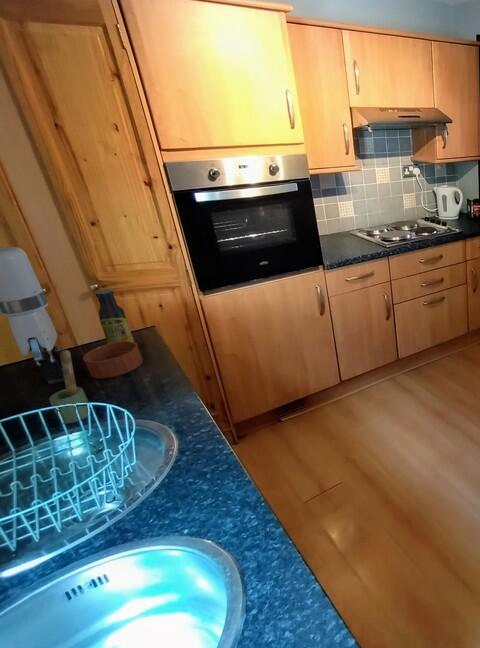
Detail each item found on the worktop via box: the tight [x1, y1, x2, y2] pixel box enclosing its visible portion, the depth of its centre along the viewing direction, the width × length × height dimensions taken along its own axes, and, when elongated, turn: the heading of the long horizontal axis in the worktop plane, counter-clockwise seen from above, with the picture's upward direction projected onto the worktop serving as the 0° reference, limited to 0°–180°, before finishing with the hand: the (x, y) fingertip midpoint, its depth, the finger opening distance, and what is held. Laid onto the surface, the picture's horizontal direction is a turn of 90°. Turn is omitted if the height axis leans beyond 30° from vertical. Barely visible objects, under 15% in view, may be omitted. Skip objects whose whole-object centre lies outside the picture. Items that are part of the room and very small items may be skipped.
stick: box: [59, 349, 77, 397], centre depth 110 cm, size 2×2×18 cm
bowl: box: [82, 341, 144, 379], centre depth 132 cm, size 12×12×6 cm
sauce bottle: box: [95, 288, 135, 344], centre depth 140 cm, size 7×6×20 cm
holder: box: [48, 386, 90, 424], centre depth 111 cm, size 6×6×7 cm
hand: (55, 372), depth 107 cm, fingers open, 3 cm apart
